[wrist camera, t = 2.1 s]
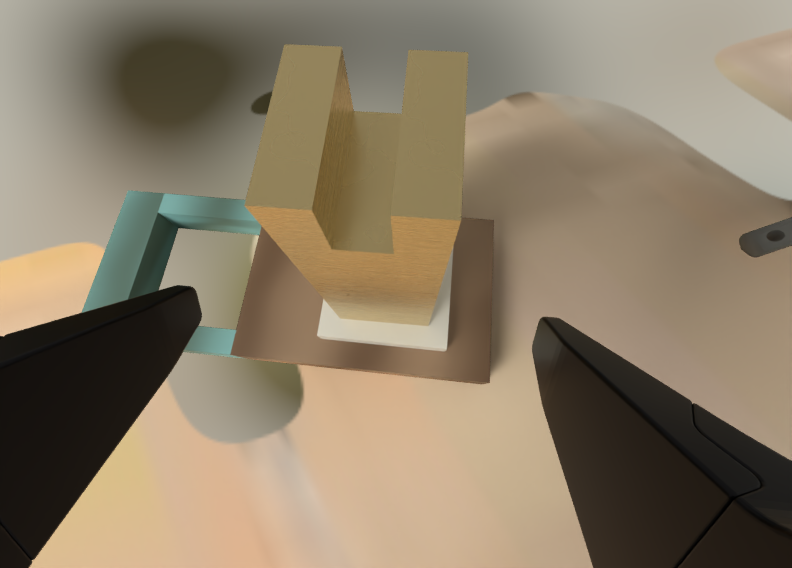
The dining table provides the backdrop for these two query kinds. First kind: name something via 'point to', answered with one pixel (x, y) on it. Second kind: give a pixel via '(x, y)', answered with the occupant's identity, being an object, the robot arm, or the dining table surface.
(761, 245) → the saucepan
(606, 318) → the dining table surface
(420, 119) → the brass clip
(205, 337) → the divided tray
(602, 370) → the robot arm
